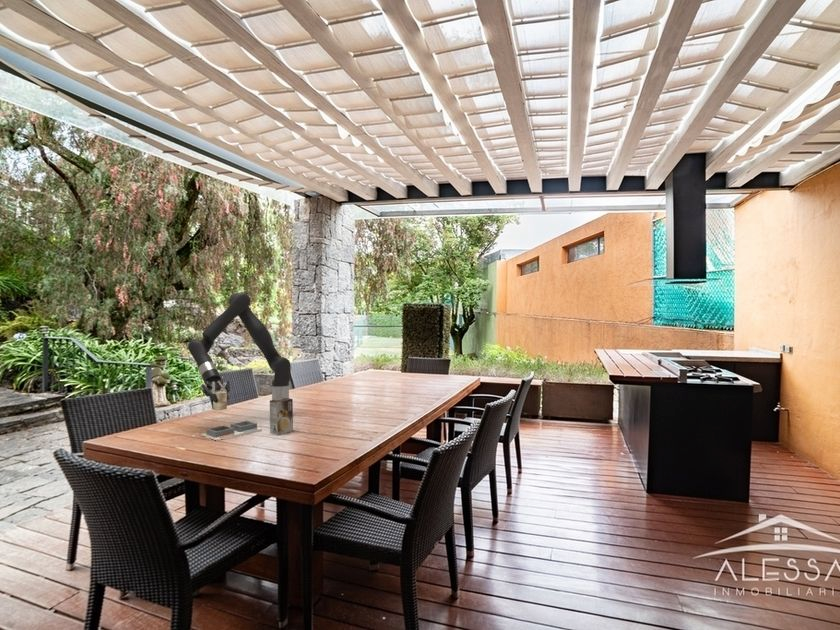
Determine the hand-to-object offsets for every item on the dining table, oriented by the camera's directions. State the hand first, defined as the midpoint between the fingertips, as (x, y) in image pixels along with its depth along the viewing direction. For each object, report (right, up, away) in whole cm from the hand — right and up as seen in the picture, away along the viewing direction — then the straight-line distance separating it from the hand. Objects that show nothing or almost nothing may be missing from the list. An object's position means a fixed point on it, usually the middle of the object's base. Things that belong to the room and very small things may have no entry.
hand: (222, 400), depth 212 cm
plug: (-2, -4, +1) cm, 5 cm away
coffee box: (+26, -17, +8) cm, 32 cm away
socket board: (+2, -17, +6) cm, 18 cm away
